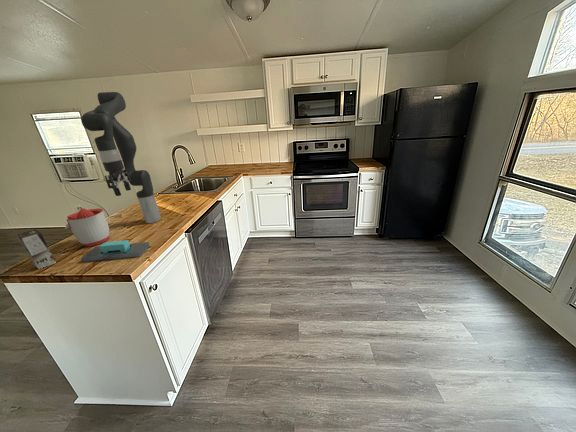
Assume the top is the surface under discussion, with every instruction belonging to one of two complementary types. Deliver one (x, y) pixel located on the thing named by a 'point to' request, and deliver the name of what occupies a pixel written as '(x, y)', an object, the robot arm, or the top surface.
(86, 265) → the top surface
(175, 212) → the top surface
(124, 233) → the top surface
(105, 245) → the teal rectangular block
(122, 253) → the grey board with holes
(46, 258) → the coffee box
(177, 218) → the top surface
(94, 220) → the citrus juicer
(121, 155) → the robot arm
